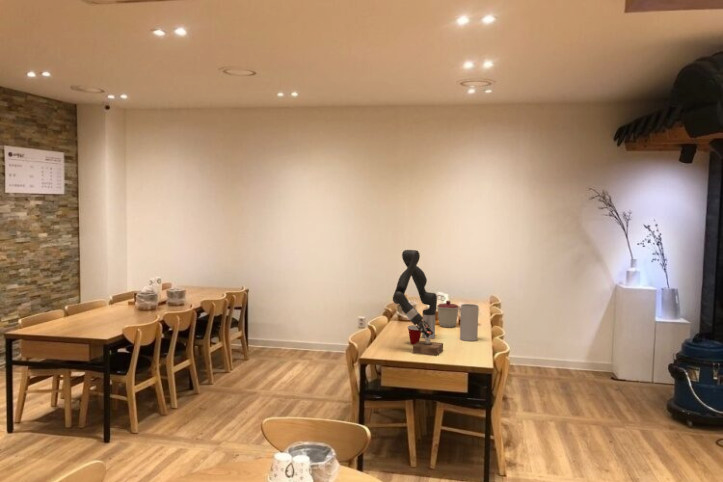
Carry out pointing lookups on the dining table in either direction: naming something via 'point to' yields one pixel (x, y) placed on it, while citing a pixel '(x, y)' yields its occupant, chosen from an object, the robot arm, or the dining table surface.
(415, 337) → the plastic cup
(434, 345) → the block
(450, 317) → the canister
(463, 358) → the dining table surface
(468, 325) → the cylinder vase
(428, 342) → the lynch pin
